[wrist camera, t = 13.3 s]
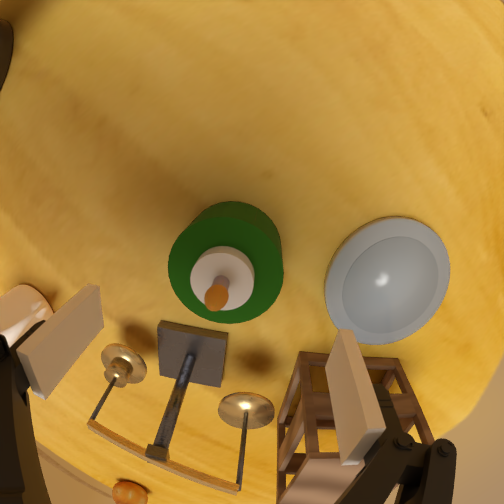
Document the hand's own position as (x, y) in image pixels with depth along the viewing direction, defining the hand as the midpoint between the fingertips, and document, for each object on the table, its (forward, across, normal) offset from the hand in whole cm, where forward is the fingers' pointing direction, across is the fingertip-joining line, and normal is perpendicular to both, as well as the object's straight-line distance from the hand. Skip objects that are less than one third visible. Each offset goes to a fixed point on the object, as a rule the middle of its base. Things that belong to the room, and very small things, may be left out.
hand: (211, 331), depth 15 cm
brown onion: (+13, -17, -61) cm, 64 cm away
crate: (+12, +14, -16) cm, 24 cm away
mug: (+12, -24, -12) cm, 30 cm away
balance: (+12, -3, -12) cm, 17 cm away
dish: (+12, +15, -1) cm, 19 cm away
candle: (+12, 0, 0) cm, 12 cm away
